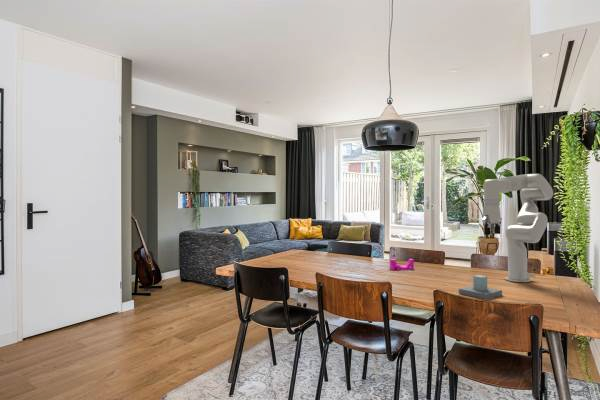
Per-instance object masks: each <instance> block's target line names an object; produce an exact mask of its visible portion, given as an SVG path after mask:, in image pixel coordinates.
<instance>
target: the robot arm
mask: <svg viewBox="0 0 600 400" xmlns="http://www.w3.org/2000/svg"><path fill="white" fill-rule="evenodd" d="M482 189H483V193H484V195H483V200H484V203H483V204H484V205H483V210H482V219H481V221H482V225H483V234H484V235H486V236H491V225H492V224H493V225H494V226H493V233H494V234H495V235H496V234H497V235H500V234H501V226H502V225H501V224H502V220H503V219H502V217H501V207H500V205H501V196H500V195H501V194H506V193H507V194H508V193H510V192H516V191H519V192H520V193H519V196H520V201H521V208H520V210H519V212H518V214H517V215H516V217H515V221H514V222H515V224H513V225H509V226H507V227H506V229H505V237H506V242H507V244H506V245H507V276H505V277H504V280H506V281H509V282H515V283H529V282H531V279H530V278H536V274H535V273H530V272H528V250H527V248H526V245H525V243H527V244H529V243H530V244H536V243H539V242H540V240H541V238H542V236H543V235H544V233H545V231H546V228H547V226H548V222H549V221H548V216H547V215H546V213H544V212H541V211H539V208H538V206H537V205H536V203H534V201H549V200H551V199H552V198H553V196H554V189H553V187H552V185H550V183H549V182H548V181H547V179H546V178H545V176H543V175H542V174H540V173H527V174H525V173H524V174H518V175H512V176H505V177H499V178H493V179H485V180H484V182H483V186H482Z"/></svg>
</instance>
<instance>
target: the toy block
mask: <svg viewBox="0 0 600 400" xmlns="http://www.w3.org/2000/svg"><path fill="white" fill-rule="evenodd" d="M414 265H415V260H414V259H413V258H408V261H407V263H405V264H404V265H399V264H398V263H397V261H396V259H394V258H389V269H390V270H391V271H408V270H415V269H414V267H415V266H414Z"/></svg>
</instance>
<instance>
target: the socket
mask: <svg viewBox="0 0 600 400" xmlns="http://www.w3.org/2000/svg"><path fill="white" fill-rule="evenodd" d="M458 294H459V295H463V296H469V297H472V298H477V299H481V300H485V299H487V300H492V299H494V298H498V297H501V296H503V290H501V289H497V288H493V287H487V291H478V290H473V285H469V286H465V287H464V286H463V287H460V288H458Z"/></svg>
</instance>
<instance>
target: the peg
mask: <svg viewBox="0 0 600 400" xmlns="http://www.w3.org/2000/svg"><path fill="white" fill-rule="evenodd" d="M472 281H473V282H472V283H473V285H472V286H473V290H478V291H487V288H488V276H486V275H481V274H477V275H473V280H472Z"/></svg>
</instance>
